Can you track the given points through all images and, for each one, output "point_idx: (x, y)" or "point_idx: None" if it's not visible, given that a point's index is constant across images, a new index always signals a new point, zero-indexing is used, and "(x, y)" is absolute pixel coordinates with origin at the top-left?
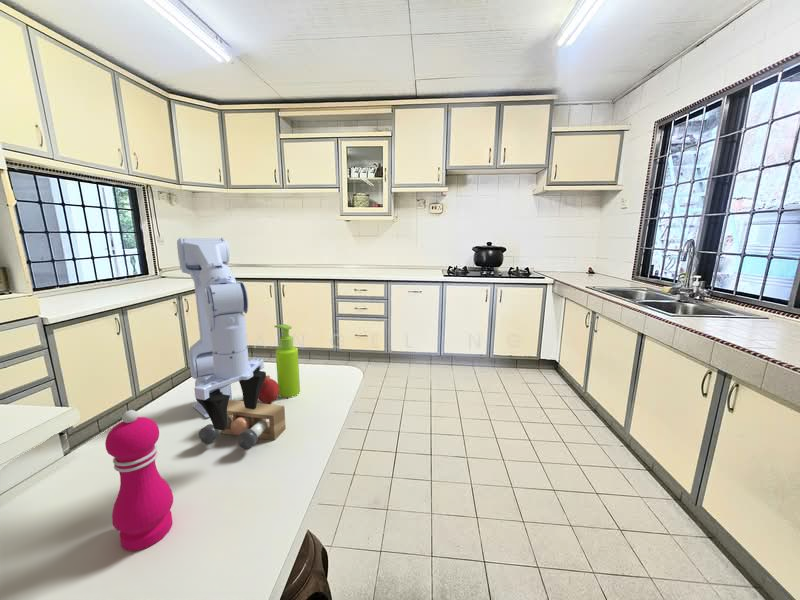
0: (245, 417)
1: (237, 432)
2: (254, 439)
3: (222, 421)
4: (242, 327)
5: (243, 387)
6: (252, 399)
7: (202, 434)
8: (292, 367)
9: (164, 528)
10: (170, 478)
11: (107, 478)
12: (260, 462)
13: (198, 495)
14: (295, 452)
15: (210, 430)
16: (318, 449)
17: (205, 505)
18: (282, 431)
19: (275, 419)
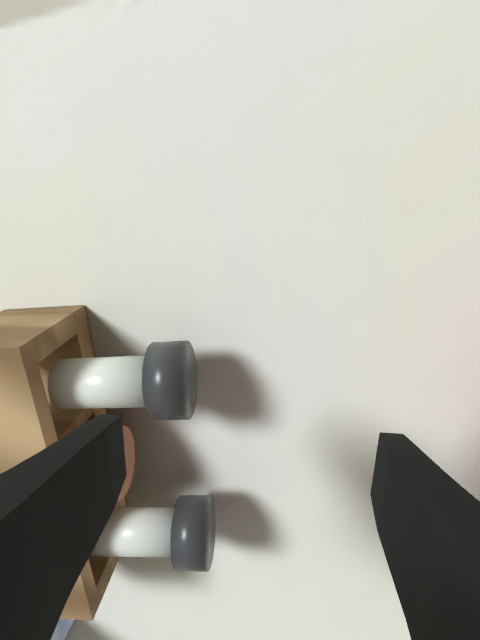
0: None
1: (130, 452)
2: (168, 346)
3: (447, 476)
4: None
5: (40, 632)
6: (85, 472)
7: (209, 549)
8: None
9: None
10: (366, 494)
11: (399, 633)
12: (219, 273)
13: (419, 364)
14: (118, 169)
15: (200, 537)
16: (60, 71)
17: (458, 310)
18: (26, 309)
19: (21, 337)
